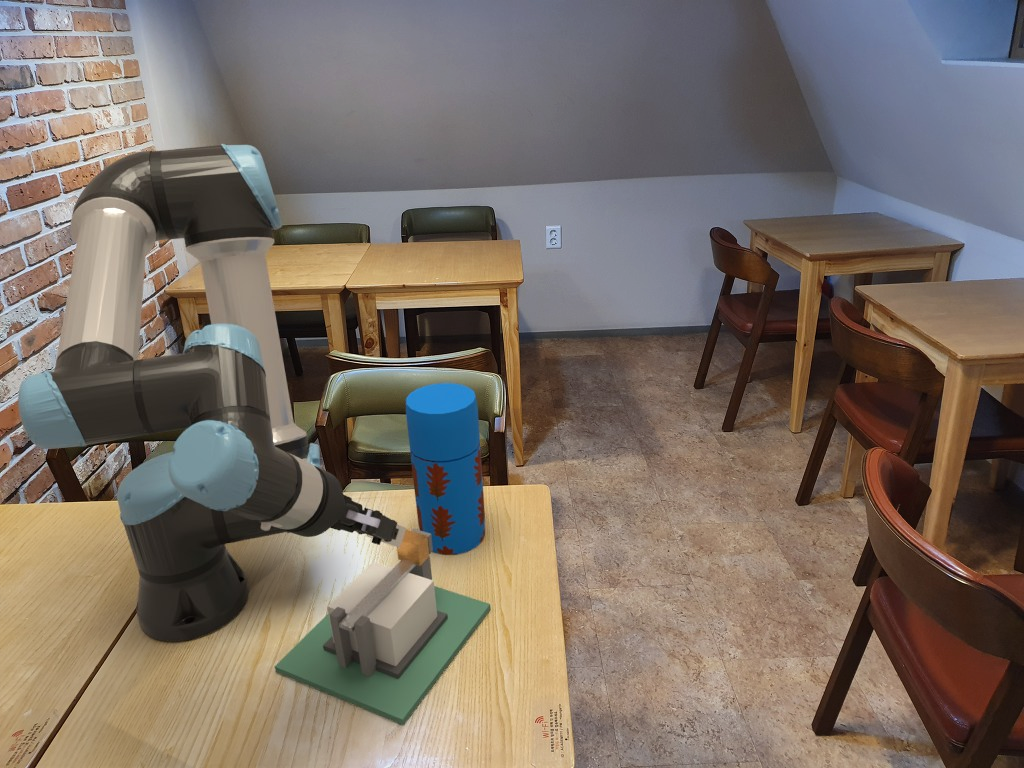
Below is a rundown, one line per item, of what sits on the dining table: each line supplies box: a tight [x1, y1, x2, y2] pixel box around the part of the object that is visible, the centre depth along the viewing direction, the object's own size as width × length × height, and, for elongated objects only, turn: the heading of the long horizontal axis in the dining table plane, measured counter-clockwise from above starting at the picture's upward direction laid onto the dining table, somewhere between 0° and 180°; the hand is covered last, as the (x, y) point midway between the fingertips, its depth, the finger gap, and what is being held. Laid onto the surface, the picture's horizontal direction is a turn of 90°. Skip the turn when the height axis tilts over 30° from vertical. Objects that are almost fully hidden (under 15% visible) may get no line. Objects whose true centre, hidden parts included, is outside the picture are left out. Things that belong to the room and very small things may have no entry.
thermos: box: [405, 382, 486, 556], centre depth 121 cm, size 11×11×25 cm
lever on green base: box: [274, 528, 492, 726], centre depth 103 cm, size 20×22×11 cm
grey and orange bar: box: [339, 529, 430, 632], centre depth 102 cm, size 4×16×4 cm, turn 153°
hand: (398, 536), depth 103 cm, fingers closed
